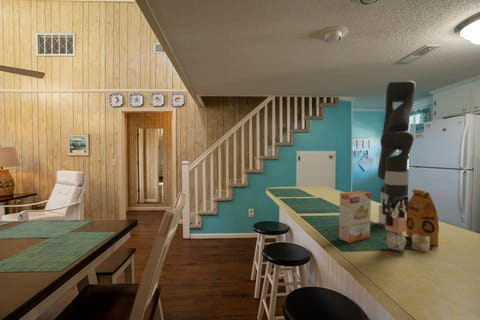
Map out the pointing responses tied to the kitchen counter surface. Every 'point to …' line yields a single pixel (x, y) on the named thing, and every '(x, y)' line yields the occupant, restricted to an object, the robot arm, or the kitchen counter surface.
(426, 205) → the coffee package
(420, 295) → the kitchen counter surface
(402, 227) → the terracotta block
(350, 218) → the cracker box
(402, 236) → the game die
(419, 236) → the birch block
